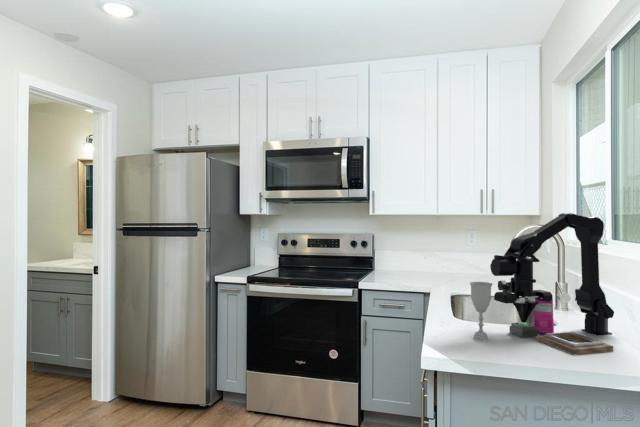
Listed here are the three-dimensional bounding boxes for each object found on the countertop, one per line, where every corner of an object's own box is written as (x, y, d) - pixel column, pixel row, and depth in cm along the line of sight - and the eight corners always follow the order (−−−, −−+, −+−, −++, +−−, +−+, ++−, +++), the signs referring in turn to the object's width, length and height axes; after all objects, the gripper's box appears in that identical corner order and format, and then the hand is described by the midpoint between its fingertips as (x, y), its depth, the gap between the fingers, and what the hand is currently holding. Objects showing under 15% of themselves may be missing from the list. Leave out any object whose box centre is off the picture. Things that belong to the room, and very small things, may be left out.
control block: (524, 331, 140) (524, 321, 140) (537, 336, 134) (537, 326, 134) (509, 333, 138) (509, 322, 138) (522, 338, 133) (522, 327, 133)
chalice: (484, 344, 126) (484, 286, 126) (464, 338, 132) (464, 283, 132) (497, 340, 130) (497, 283, 131) (478, 335, 136) (478, 281, 136)
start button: (524, 325, 138) (524, 322, 138) (531, 328, 135) (531, 324, 135) (515, 326, 137) (515, 322, 137) (522, 328, 134) (522, 325, 134)
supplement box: (534, 329, 143) (534, 296, 143) (554, 331, 140) (554, 298, 140) (533, 333, 138) (533, 299, 138) (553, 336, 135) (553, 301, 135)
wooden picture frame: (572, 337, 134) (572, 329, 134) (613, 351, 120) (613, 342, 120) (537, 340, 130) (537, 332, 130) (574, 354, 117) (574, 346, 117)
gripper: (528, 271, 146) (528, 314, 146) (483, 273, 142) (483, 318, 142) (553, 275, 136) (553, 322, 136) (505, 277, 131) (505, 326, 131)
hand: (523, 322), depth 136 cm, fingers closed
